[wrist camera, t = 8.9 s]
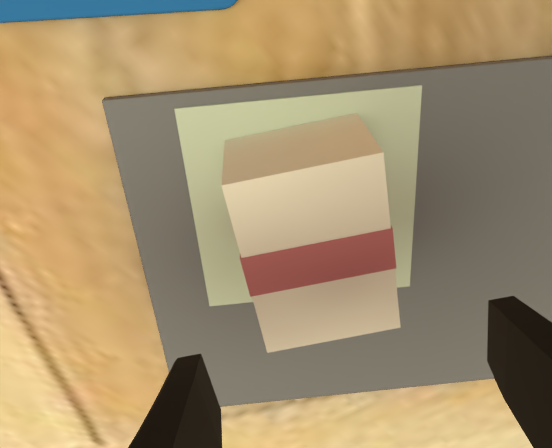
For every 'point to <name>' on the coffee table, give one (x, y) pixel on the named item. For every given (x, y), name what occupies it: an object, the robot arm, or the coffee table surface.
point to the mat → (402, 208)
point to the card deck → (313, 231)
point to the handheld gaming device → (99, 8)
